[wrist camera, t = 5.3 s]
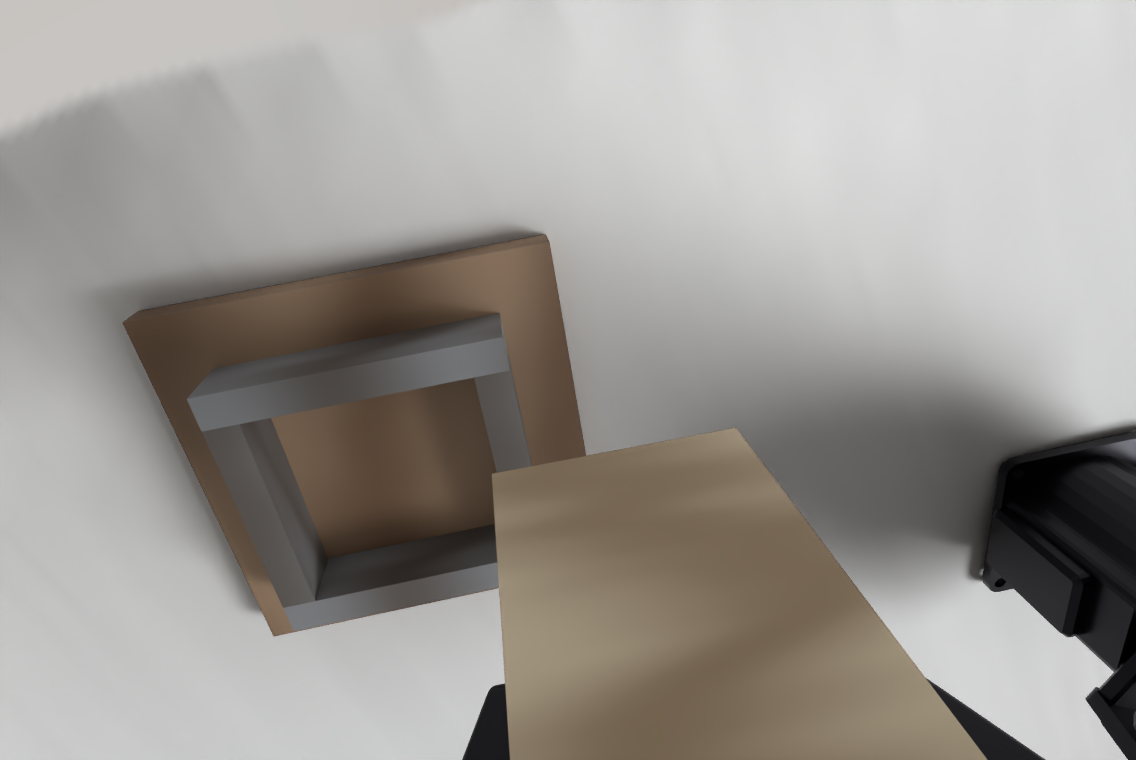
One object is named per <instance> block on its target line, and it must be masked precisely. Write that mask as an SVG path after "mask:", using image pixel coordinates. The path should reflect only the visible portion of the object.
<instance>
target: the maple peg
mask: <svg viewBox="0 0 1136 760" xmlns="http://www.w3.org/2000/svg"><path fill="white" fill-rule="evenodd" d="M492 485H493V501H494V517H495V532H496V548H497V563H498V579H499V595H500V610H501V626H502V641H503V657H504V673H505V688H506V704H507V719H508V735H509V751H510V760H987V759H986V757H985V756H984V755H983V753H982V752H981V751H980V749H979V748H978V747H977V745H976V744H975V743H974V741H973V740H972V739H971V737H970V736H969V735H968V733H967V732H966V731H965V730H964V728H963V727H962V726H961V724H960V723H959V722H958V720H957V719H956V718H955V716H954V715H953V714H952V712H951V711H950V710H949V708H948V707H947V706H946V704H945V703H944V702H943V700H942V699H941V698H940V697H939V695H938V694H937V693H936V691H935V690H934V689H933V687H932V686H931V685H930V683H929V682H928V681H927V679H926V678H925V677H924V675H923V674H922V673H921V671H920V670H919V669H918V667H917V666H916V665H915V663H914V662H913V661H912V660H911V658H910V657H909V656H908V654H907V653H906V652H905V650H904V649H903V648H902V646H901V645H900V644H899V642H898V641H897V640H896V638H895V637H894V636H893V634H892V633H891V632H890V630H889V629H888V628H887V626H886V625H885V624H884V623H883V621H882V620H881V619H880V617H879V616H878V615H877V613H876V612H875V611H874V609H873V608H872V607H871V605H870V604H869V603H868V601H867V600H866V599H865V597H864V596H863V595H862V593H861V592H860V591H859V590H858V588H857V587H856V586H855V584H854V583H853V582H852V580H851V579H850V578H849V576H848V575H847V574H846V572H845V571H844V570H843V568H842V567H841V566H840V564H839V563H838V562H837V560H836V559H835V558H834V556H833V555H832V554H831V553H830V551H829V550H828V549H827V547H826V546H825V545H824V543H823V542H822V541H821V539H820V538H819V537H818V535H817V534H816V533H815V531H814V530H813V529H812V527H811V526H810V525H809V523H808V522H807V521H806V519H805V518H804V517H803V516H802V514H801V513H800V512H799V510H798V509H797V508H796V506H795V505H794V504H793V502H792V501H791V500H790V498H789V497H788V496H787V494H786V493H785V492H784V490H783V489H782V488H781V486H780V485H779V484H778V483H777V481H776V480H775V479H774V477H773V476H772V475H771V473H770V472H769V471H768V469H767V468H766V467H765V465H764V464H763V463H762V461H761V460H760V459H759V457H758V456H757V455H756V453H755V452H754V451H753V449H752V448H751V447H750V446H749V444H748V443H747V442H746V440H745V439H744V438H743V436H742V435H741V434H740V432H739V431H738V430H737V428H731V429H726V430H720V431H715V432H710V433H705V434H699V435H694V436H689V437H683V438H678V439H673V440H668V441H662V442H657V443H652V444H647V445H641V446H636V447H631V448H626V449H620V450H615V451H610V452H605V453H599V454H594V455H589V456H584V457H578V458H573V459H568V460H562V461H557V462H552V463H547V464H541V465H536V466H531V467H526V468H520V469H515V470H510V471H505V472H499V473H494V474H492Z"/></svg>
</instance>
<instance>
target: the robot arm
mask: <svg viewBox="0 0 1136 760" xmlns="http://www.w3.org/2000/svg"><path fill="white" fill-rule="evenodd" d="M983 583H984V584H985V585H986V586H987V587H988V588H989V589H990V590H991V591H993V592H1000V591H1004V590H1009V589H1013V588H1014V589H1015V590H1016V591H1017V592H1018V593H1019V594H1020V595H1021V596H1022V597H1023V598H1024V599H1025V600H1026V601H1027V602H1028V603H1029V604H1030V605H1032V606H1033V607H1034V608H1035V609H1036V610H1037V611H1038V612H1039V613H1040V614H1041V615H1042V616H1043V617H1044V618H1045V619H1046V620H1047V621H1048V622H1049V623H1050V624H1052V625H1053V626H1054V627H1055V628H1056V629H1057V630H1058V631H1059V632H1060V633H1062V634H1063V635H1065V636H1066V637H1073V636H1076V637H1077V638H1078V639H1079V640H1080V641H1081V642H1082V643H1084V644H1085V645H1086V646H1087V647H1088V648H1089V649H1090V650H1091V651H1092V652H1093V653H1094V654H1095V655H1096V656H1097V657H1099V658H1100V659H1101V660H1102V661H1103V662H1104V663H1105V664H1106V665H1107V666H1108V667H1109V668H1110V669H1111V670H1113V671H1114V673H1113V674H1112V675H1111V676H1110V677H1109V678H1108V680H1107V681H1106V682H1105V683H1104V684H1103V685H1102V686H1101V687H1100V688H1098V687H1095V689H1094V690H1093V691H1092V692H1091V693H1090V694H1089V695H1088V696H1087V697H1086V701H1087V702H1088V704H1089V705H1090V706H1091V708H1092V709H1093V710H1094V712H1095V713H1096V715H1097V716H1098V717H1099V719H1100V720H1101V723H1102V725H1103V726H1104V728H1105V729H1106V730H1107V732H1108V733H1109V734H1110V736H1111V737H1112V738H1113V740H1114V741H1115V743H1116V744H1117V745H1118V747H1119V748H1120V749H1121V751H1122V752H1123V754H1124V755H1125V756H1126V758H1127V759H1128V760H1136V431H1135V432H1130V433H1126V434H1121V435H1116V436H1112V437H1107V438H1102V439H1098V440H1093V441H1088V442H1084V443H1079V444H1074V445H1070V446H1065V447H1060V448H1056V449H1051V450H1046V451H1041V452H1037V453H1032V454H1027V455H1023V456H1018V457H1013V458H1010V459H1008V460H1006V461H1005V462H1004V463H1003V464H1002V465H1001V467H1000V469H999V473H998V480H997V486H996V493H995V499H994V506H993V513H992V519H991V526H990V532H989V539H988V546H987V552H986V559H985V565H984V572H983ZM926 679H927V678H926ZM927 681H928V682H929V683H930V685H931V686H932V687H933V689H934V690H935V691H936V693H937V694H938V695H939V697H940V698H941V699H942V700H943V702H944V703H945V704H946V706H947V707H948V708H949V710H950V711H951V712H952V714H953V715H954V716H955V718H956V719H957V720H958V722H959V723H960V724H961V726H962V727H963V728H964V730H965V731H966V732H967V733H968V735H969V736H970V737H971V739H972V740H973V741H974V743H975V744H976V745H977V747H978V748H979V749H980V751H981V752H982V753H983V755H984V756H985V757H986V759H987V760H1045V759H1044V758H1042V757H1041V756H1039V755H1038V754H1036V753H1035V752H1033V751H1032V750H1030V749H1029V748H1027V747H1026V746H1025V745H1023V744H1022V743H1020V742H1019V741H1017V740H1016V739H1014V738H1013V737H1011V736H1010V735H1008V734H1007V733H1006V732H1004V731H1003V730H1001V729H1000V728H998V727H997V726H995V725H994V724H992V723H991V722H990V721H988V720H987V719H985V718H984V717H982V716H981V715H979V714H978V713H976V712H975V711H973V710H972V709H971V708H969V707H968V706H966V705H965V704H963V703H962V702H960V701H959V700H957V699H956V698H954V697H953V696H952V695H950V694H949V693H947V692H946V691H944V690H943V689H941V688H940V687H938V686H937V685H936V684H934V683H933V682H931V681H930V680H928V679H927ZM462 760H510V751H509V735H508V719H507V704H506V688H505V684H500V685H496V686H493V687H492V688H491V689H490V690H489V692H488V694H487V696H486V699H485V702H484V704H483V707H482V709H481V712H480V715H479V717H478V720H477V722H476V725H475V728H474V730H473V733H472V736H471V738H470V741H469V743H468V746H467V749H466V751H465V754H464V756H463V759H462Z"/></svg>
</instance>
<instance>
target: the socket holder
mask: <svg viewBox="0 0 1136 760" xmlns="http://www.w3.org/2000/svg"><path fill="white" fill-rule="evenodd" d="M123 325H124V327H125V329H126V331H127V333H128V335H129V337H130V339H131V341H132V343H133V345H134V348H135V350H136V352H137V354H138V356H139V358H140V360H141V362H142V364H143V366H144V368H145V370H146V372H147V374H148V377H149V379H150V381H151V383H152V385H153V387H154V389H155V391H156V393H157V395H158V397H159V399H160V401H161V404H162V406H163V408H164V410H165V412H166V414H167V416H168V418H169V420H170V422H171V424H172V426H173V428H174V430H175V433H176V435H177V437H178V439H179V441H180V443H181V445H182V447H183V449H184V451H185V453H186V455H187V457H188V460H189V462H190V464H191V466H192V468H193V470H194V472H195V474H196V476H197V478H198V480H199V482H200V484H201V486H202V489H203V491H204V493H205V495H206V497H207V499H208V501H209V503H210V505H211V507H212V509H213V511H214V513H215V516H216V518H217V520H218V522H219V524H220V526H221V528H222V530H223V532H224V534H225V536H226V538H227V540H228V542H229V545H230V547H231V549H232V551H233V553H234V555H235V557H236V559H237V561H238V563H239V565H240V567H241V569H242V572H243V574H244V576H245V578H246V580H247V582H248V584H249V586H250V588H251V590H252V592H253V594H254V596H255V598H256V601H257V603H258V605H259V607H260V609H261V611H262V613H263V615H264V617H265V619H266V621H267V623H268V625H269V628H270V630H271V632H272V634H273V636H278V635H283V634H287V633H292V632H297V631H301V630H306V629H311V628H315V627H320V626H324V625H329V624H334V623H338V622H343V621H348V620H352V619H357V618H362V617H366V616H371V615H376V614H380V613H385V612H390V611H394V610H399V609H404V608H408V607H413V606H417V605H422V604H427V603H431V602H436V601H441V600H445V599H450V598H455V597H459V596H464V595H469V594H473V593H478V592H483V591H487V590H492V589H497V588H499V579H498V563H497V548H496V532H495V517H494V501H493V485H492V474H494V473H499V472H505V471H510V470H515V469H520V468H526V467H531V466H536V465H541V464H547V463H552V462H557V461H562V460H568V459H573V458H578V457H584V456H586V453H585V447H584V441H583V435H582V429H581V424H580V418H579V412H578V406H577V400H576V394H575V389H574V383H573V377H572V371H571V365H570V360H569V354H568V348H567V342H566V336H565V330H564V325H563V319H562V313H561V307H560V301H559V295H558V290H557V284H556V278H555V272H554V266H553V260H552V255H551V249H550V243H549V240H548V238H547V236H546V234H545V235H539V236H534V237H529V238H524V239H518V240H513V241H508V242H502V243H497V244H492V245H486V246H481V247H476V248H471V249H465V250H460V251H455V252H449V253H444V254H439V255H433V256H428V257H423V258H417V259H412V260H407V261H402V262H396V263H391V264H386V265H380V266H375V267H370V268H364V269H359V270H354V271H349V272H343V273H338V274H333V275H327V276H322V277H317V278H311V279H306V280H301V281H295V282H290V283H285V284H280V285H274V286H269V287H264V288H258V289H253V290H248V291H242V292H237V293H232V294H227V295H221V296H216V297H211V298H205V299H200V300H195V301H189V302H184V303H179V304H173V305H168V306H163V307H158V308H152V309H147V310H142V311H138V312H137V313H135V314H134V315H133V316H131V317H130V318H128V319H127V320H126V321H124V322H123Z"/></svg>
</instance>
